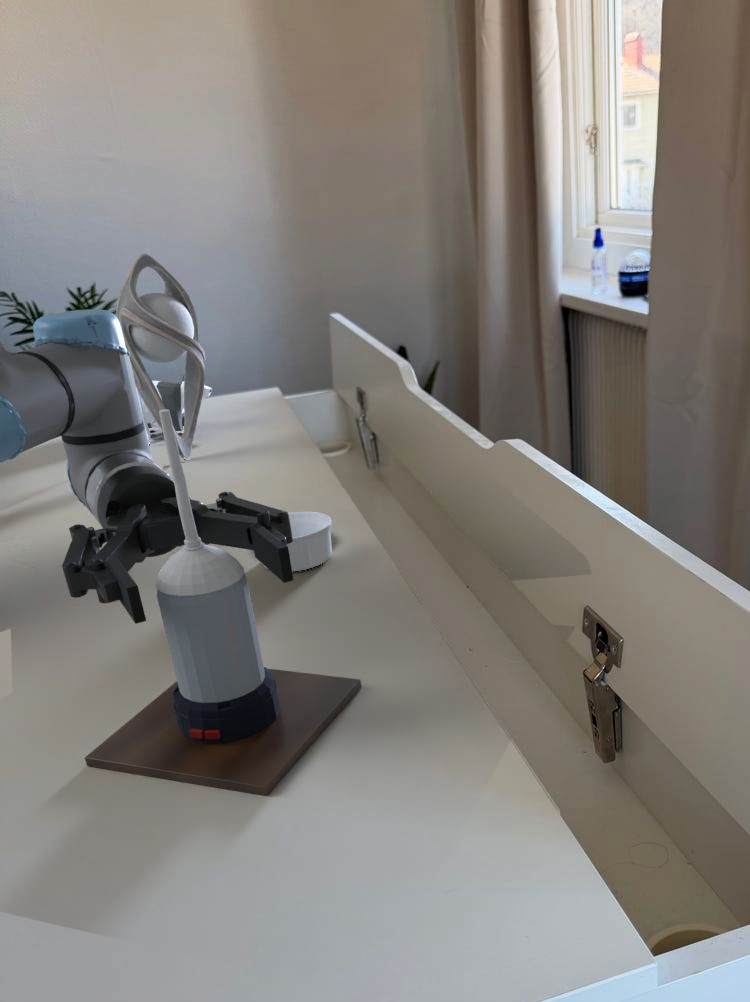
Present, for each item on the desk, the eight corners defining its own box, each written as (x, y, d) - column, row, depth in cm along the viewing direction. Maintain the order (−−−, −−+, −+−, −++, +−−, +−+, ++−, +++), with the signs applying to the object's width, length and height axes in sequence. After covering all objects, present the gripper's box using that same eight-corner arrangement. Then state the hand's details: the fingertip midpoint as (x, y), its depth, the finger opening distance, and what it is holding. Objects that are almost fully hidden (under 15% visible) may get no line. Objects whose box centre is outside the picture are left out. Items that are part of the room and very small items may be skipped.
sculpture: (231, 447, 156) (193, 246, 143) (216, 468, 146) (174, 254, 133) (159, 452, 156) (114, 252, 143) (139, 474, 146) (89, 261, 133)
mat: (86, 766, 76) (84, 757, 75) (203, 668, 89) (201, 660, 88) (266, 796, 70) (265, 786, 70) (361, 687, 84) (360, 679, 83)
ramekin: (255, 580, 106) (248, 543, 104) (259, 550, 114) (252, 515, 112) (337, 570, 107) (331, 533, 105) (335, 541, 115) (330, 507, 113)
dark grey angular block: (130, 438, 166) (116, 381, 161) (139, 430, 170) (126, 374, 166) (215, 432, 165) (204, 375, 161) (222, 424, 170) (212, 368, 166)
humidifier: (187, 754, 74) (108, 432, 63) (172, 706, 81) (98, 407, 70) (291, 726, 77) (234, 412, 66) (268, 681, 84) (213, 390, 73)
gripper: (268, 516, 94) (364, 590, 77) (16, 577, 84) (61, 677, 67) (254, 439, 90) (352, 498, 73) (-10, 493, 81) (31, 577, 63)
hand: (213, 584), depth 70 cm, fingers open, 10 cm apart
